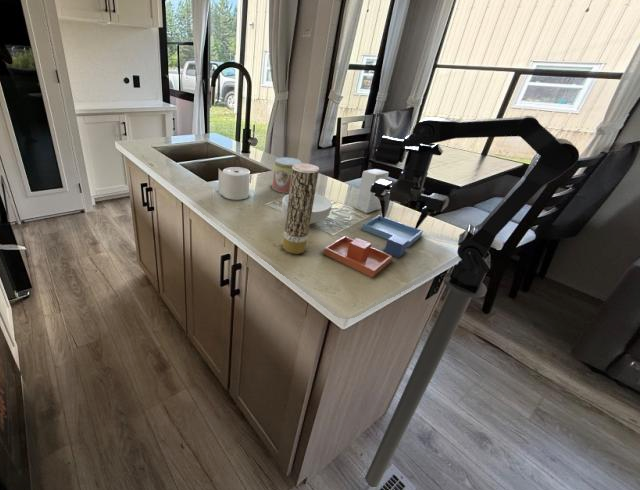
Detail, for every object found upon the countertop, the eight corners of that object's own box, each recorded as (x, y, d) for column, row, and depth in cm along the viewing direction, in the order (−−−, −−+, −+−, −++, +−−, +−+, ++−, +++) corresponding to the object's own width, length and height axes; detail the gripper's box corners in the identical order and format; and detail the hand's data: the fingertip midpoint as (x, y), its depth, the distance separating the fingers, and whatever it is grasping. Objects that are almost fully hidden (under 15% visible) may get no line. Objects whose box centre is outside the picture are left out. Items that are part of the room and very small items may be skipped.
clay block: (368, 256, 94) (371, 243, 92) (360, 262, 91) (364, 248, 89) (354, 250, 96) (357, 237, 94) (346, 255, 94) (349, 242, 91)
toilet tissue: (250, 199, 128) (252, 175, 123) (220, 200, 127) (220, 175, 122) (246, 190, 137) (247, 166, 133) (218, 190, 136) (218, 167, 131)
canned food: (267, 188, 140) (270, 161, 134) (279, 181, 148) (281, 155, 142) (291, 195, 135) (295, 166, 129) (302, 187, 143) (306, 160, 137)
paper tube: (291, 240, 101) (302, 161, 89) (309, 249, 97) (323, 167, 85) (277, 248, 97) (287, 166, 85) (296, 257, 93) (309, 172, 81)
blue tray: (421, 236, 107) (423, 230, 106) (407, 247, 100) (409, 241, 99) (377, 220, 117) (378, 215, 116) (362, 229, 110) (363, 224, 109)
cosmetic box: (367, 213, 121) (376, 175, 114) (353, 208, 125) (362, 170, 118) (380, 209, 126) (390, 171, 118) (366, 203, 130) (376, 167, 123)
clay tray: (390, 262, 93) (392, 255, 92) (372, 277, 86) (374, 270, 85) (343, 241, 102) (344, 235, 101) (323, 253, 95) (324, 247, 94)
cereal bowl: (286, 206, 124) (288, 188, 121) (330, 214, 120) (334, 196, 116) (275, 225, 110) (277, 205, 107) (325, 234, 106) (329, 215, 102)
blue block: (404, 252, 98) (408, 240, 96) (398, 257, 95) (402, 245, 93) (390, 246, 100) (394, 234, 98) (383, 251, 98) (387, 239, 95)
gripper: (367, 166, 85) (355, 220, 93) (445, 185, 74) (424, 244, 81) (385, 159, 92) (372, 209, 100) (459, 175, 81) (438, 231, 88)
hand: (399, 222), depth 92 cm, fingers open, 9 cm apart
